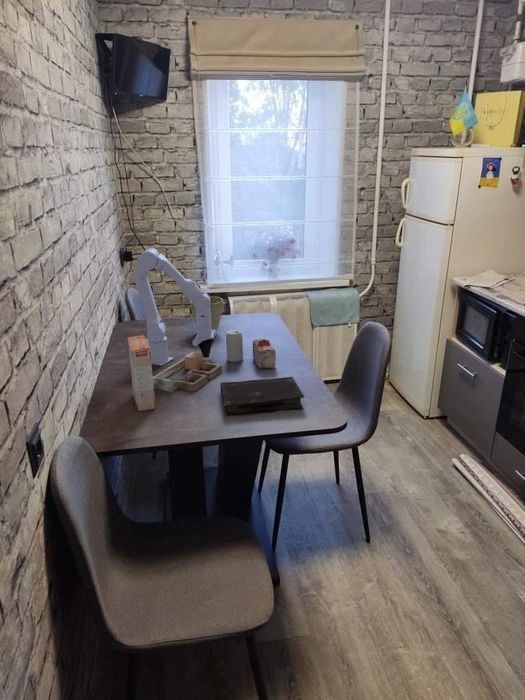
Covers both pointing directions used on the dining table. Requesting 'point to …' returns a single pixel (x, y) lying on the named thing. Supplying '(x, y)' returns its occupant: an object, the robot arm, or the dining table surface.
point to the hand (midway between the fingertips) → (206, 357)
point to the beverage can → (234, 345)
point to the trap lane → (193, 375)
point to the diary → (261, 396)
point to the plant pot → (212, 311)
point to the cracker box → (141, 372)
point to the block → (193, 361)
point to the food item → (264, 354)
